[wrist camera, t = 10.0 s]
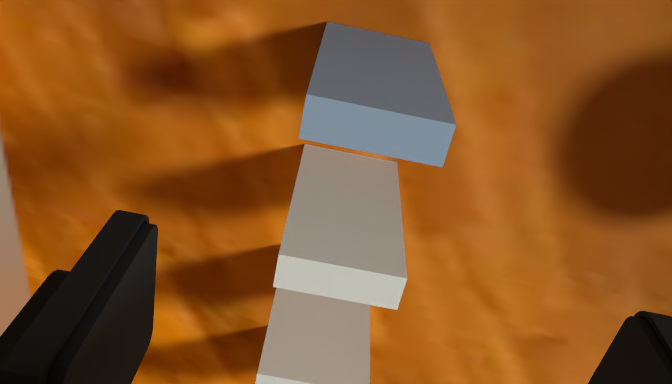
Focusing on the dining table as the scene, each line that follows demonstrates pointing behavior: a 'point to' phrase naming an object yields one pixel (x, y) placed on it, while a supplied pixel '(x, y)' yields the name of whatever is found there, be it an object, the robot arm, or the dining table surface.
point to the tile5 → (344, 230)
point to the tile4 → (315, 341)
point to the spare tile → (378, 96)
